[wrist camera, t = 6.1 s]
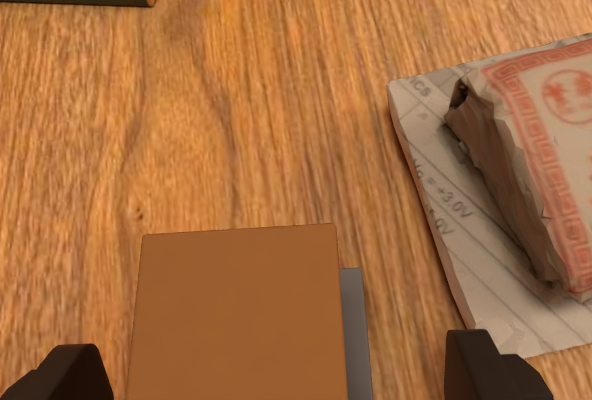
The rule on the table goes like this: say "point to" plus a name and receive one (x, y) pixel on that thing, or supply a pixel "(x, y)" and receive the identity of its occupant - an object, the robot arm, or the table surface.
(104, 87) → the table surface
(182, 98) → the table surface
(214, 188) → the table surface
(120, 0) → the chalkboard
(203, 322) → the eraser
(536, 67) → the packaged product
